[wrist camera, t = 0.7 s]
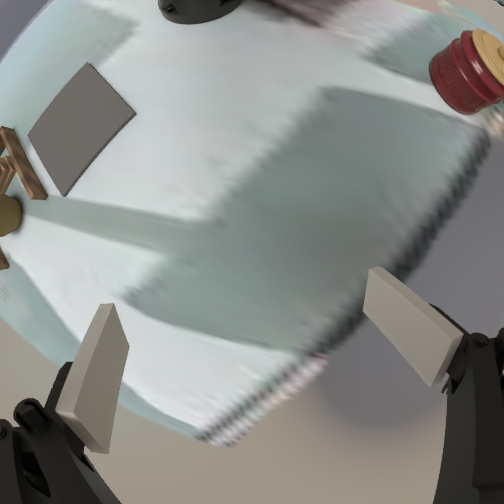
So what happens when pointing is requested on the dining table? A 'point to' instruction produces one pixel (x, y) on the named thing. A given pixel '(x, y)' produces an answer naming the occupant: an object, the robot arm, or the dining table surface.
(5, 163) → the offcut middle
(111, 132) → the charcoal mat
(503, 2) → the lunch box
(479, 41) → the canister
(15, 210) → the squeeze bottle
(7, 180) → the offcut low
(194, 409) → the dining table surface
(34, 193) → the walnut open frame
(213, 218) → the dining table surface
